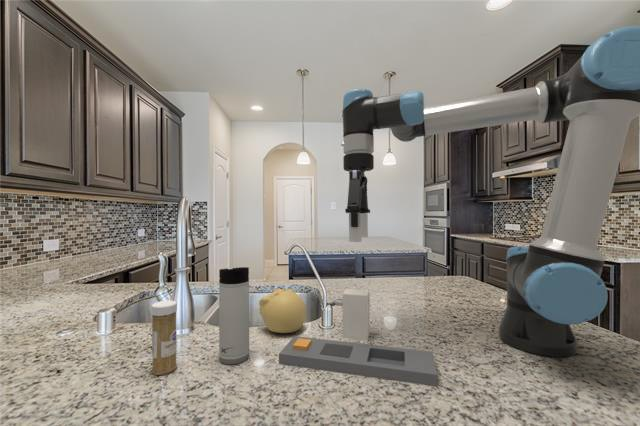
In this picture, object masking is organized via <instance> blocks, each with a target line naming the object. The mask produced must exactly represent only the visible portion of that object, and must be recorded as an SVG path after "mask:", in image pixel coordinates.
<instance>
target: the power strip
mask: <svg viewBox="0 0 640 426" xmlns="http://www.w3.org/2000/svg"><path fill="white" fill-rule="evenodd" d="M434 357H435V355H434V352H433V351H429V350H428V351H427V350H418V349H410V348H403V347H402V348H401V347H394V346H385V345H375V344H368V343H367V344H366V343H358V342H348V341H341V340H332V339H323V338H314V337H305V336H299V335H298V336H296V335H294V336H293V337H292V338H291V339H290V340H289V342H287V344H286V345H285V346H284V347H283V348H282V349H281V351H280V352H279V353H278V365H285V366H292V367H298V368H307V369H313V370H319V371H320V370H321V371H327V372H334V373H341V374H347V375H355V376H361V377H368V378H375V379H381V380H389V381H395V382H403V383H411V384H417V385H424V386H425V385H426V386H429V387H430V386H431V387H438V372H437V366H436V361H435V358H434Z"/></svg>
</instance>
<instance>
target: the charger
mask: <svg viewBox="0 0 640 426" xmlns="http://www.w3.org/2000/svg"><path fill="white" fill-rule="evenodd" d="M370 292H371V291H370V289H369V290H367V289H354V288H351V289H350V288H346V289H345V290H344V292H343V293H342V299H335V300H334V306H336V307H337V306H339V307H342V338H343V339H344V338H345V339H352V340H353V339H354V340H363V341H368V340H369V336H370V332H371V331H370V329H371V327H370V324H371V323H370V321H371V320H370V319H371V318H370V317H371V315H370V309H371V308H370V307H371V305H370V298H371V297H370Z"/></svg>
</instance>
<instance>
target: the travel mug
mask: <svg viewBox="0 0 640 426" xmlns="http://www.w3.org/2000/svg"><path fill="white" fill-rule="evenodd" d="M249 271H250V267H249V266H247V267H244V266H243V267H233V268H230V269H229V268H222V269H219V275H218V276H219V277H218V278H219V280H218V284H219V286H218V302H219V303H218V308H219V309H218V332H219V333H218V334H219V335H218V336H219V337H218V344H219V346H218V347H219V349H218V352H219V354H218V355H219V356H218V357H219V358H218V359H219V361H220V362H221V363H222V364H223V365H237V364H241V363H243V362H245V361H246V360H248V359H249V357H250V277H249V276H250V275H249V274H250V272H249Z"/></svg>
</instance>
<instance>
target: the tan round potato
mask: <svg viewBox="0 0 640 426" xmlns="http://www.w3.org/2000/svg"><path fill="white" fill-rule="evenodd" d="M258 305H259V310H258V311H259V315H260V317H261V318H262V321H263V323H264V325H265V327H266V329H267V330H269V331H270V332H273V333H279V334H289V333H295V332H297V331H298V330H301V328H302V326H303V325H304V324H305V321H306V316H307V309H306V304H305V302H304V300H303V298H302V297H301V296H300V295H299V294H298V293H297V291H295V290H293V289H292V288H291V289H283V288H276V289H274V290H273V291H272V292H271V293H270V294H267V295H266V296H263V297H261V298H260V299H259V301H258Z"/></svg>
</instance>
